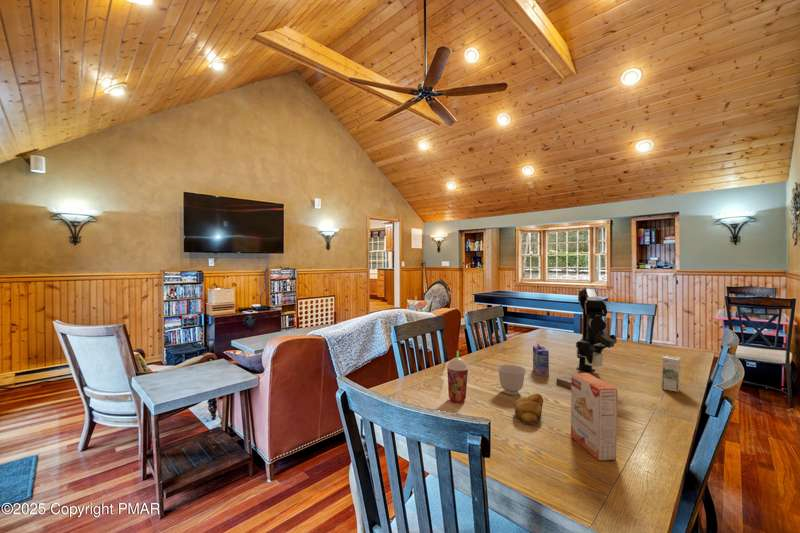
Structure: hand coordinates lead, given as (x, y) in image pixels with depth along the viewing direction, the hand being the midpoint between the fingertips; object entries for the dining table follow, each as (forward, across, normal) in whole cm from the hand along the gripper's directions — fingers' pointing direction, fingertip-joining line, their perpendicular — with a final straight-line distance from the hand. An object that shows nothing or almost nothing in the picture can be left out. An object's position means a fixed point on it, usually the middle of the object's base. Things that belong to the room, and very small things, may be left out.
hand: (593, 362), depth 158 cm
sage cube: (+1, 0, 0) cm, 1 cm away
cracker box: (+11, -52, -28) cm, 60 cm away
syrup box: (+11, +26, -20) cm, 35 cm away
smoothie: (+11, -62, +21) cm, 66 cm away
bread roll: (+11, -51, -4) cm, 52 cm away
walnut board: (+12, -5, +6) cm, 14 cm away
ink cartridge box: (+11, -3, +25) cm, 27 cm away
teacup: (+11, -35, +16) cm, 40 cm away
